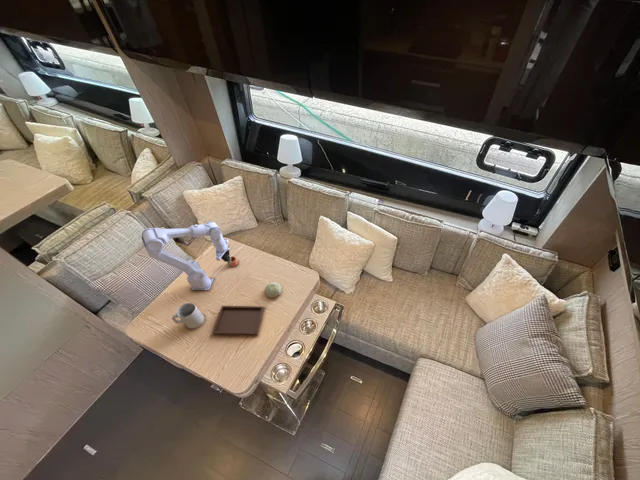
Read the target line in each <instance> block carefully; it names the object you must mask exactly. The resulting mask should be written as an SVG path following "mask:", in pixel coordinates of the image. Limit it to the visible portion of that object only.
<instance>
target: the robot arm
mask: <svg viewBox="0 0 640 480" xmlns="http://www.w3.org/2000/svg"><path fill="white" fill-rule="evenodd" d="M188 236H190V237H191V238H199V237H200V238H201V237H209V239H210V241H211V242H212V245H213V246H214V248H215V260H216V261H217V262H218V261H223V262H225V263H228V261H229V260H228V255H230V256H231V254H230V249H231V247H230V246H229V244H228V243H229V242H230V241H229V239H228V238H224V236H223V234H222V230H221V229H220V227H219V226H218V224H217V223H216V222H215V221H211V220H210V221H207V222H205V223H203V224H192V225H190V226H189V227H184V228H181V227H180V228H179V227H178V228H162V227H149V228H148V227H147V228H144V229H143V231H141V240H142V244H143V246H144V249H145V250H146V253H147V254H148V256H149V257H150V258H152V259H155V260H157V261H159V262H162V263H164V264H166V265H169V266H171V267H173V268H175V269H178V270H180V271H182V272H184V273H185V274H186V275H187V278H186V279H187V283H188V284H189V286H190V287H191V290H192V291H209V290H210V289H211V286H212V284H213V281H214V278H209V276H208V274H207V273H206V272H205V269H202V267H201V264H200V263H199V261H196V260H191V259H188V260H186V259H185V258H182V257H180V256H178V255H176V254H173V253H171V252H170V251H167V250H165V249H163V248H164V245H167V244H168V243H169V242H170V240H171V239H176V238H181V237H188Z"/></svg>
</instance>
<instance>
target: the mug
mask: <svg viewBox="0 0 640 480" xmlns="http://www.w3.org/2000/svg"><path fill="white" fill-rule="evenodd" d="M176 318H179V320H178V319H176ZM171 319H172V321H173V322H174V323H175V324H183V323H184V324H185V326H186V327H187V328H189V329H197V328H199V327H201V326H202V325H203V323H204V322H205V316H204V315H203V313H202V312H201V311H200V310H199V308H198V307H197V306H196V304H194V303H193V302H185V303H184V304H182V305H181V306H179V307H178V308H177V311H176V314H173V315H172V317H171Z"/></svg>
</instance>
